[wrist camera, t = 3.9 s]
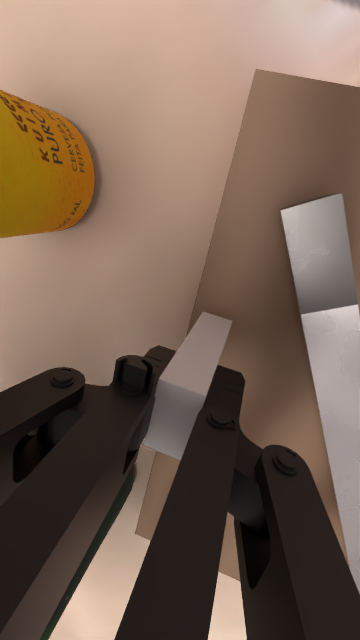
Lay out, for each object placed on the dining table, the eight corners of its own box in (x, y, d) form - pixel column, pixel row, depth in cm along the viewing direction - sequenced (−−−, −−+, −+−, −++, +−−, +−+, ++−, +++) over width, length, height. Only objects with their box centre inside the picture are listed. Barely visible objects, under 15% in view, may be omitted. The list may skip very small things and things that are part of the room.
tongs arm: (389, 593, 20) (408, 656, 17) (353, 590, 20) (365, 650, 18) (328, 194, 13) (342, 192, 11) (279, 209, 14) (280, 210, 11)
